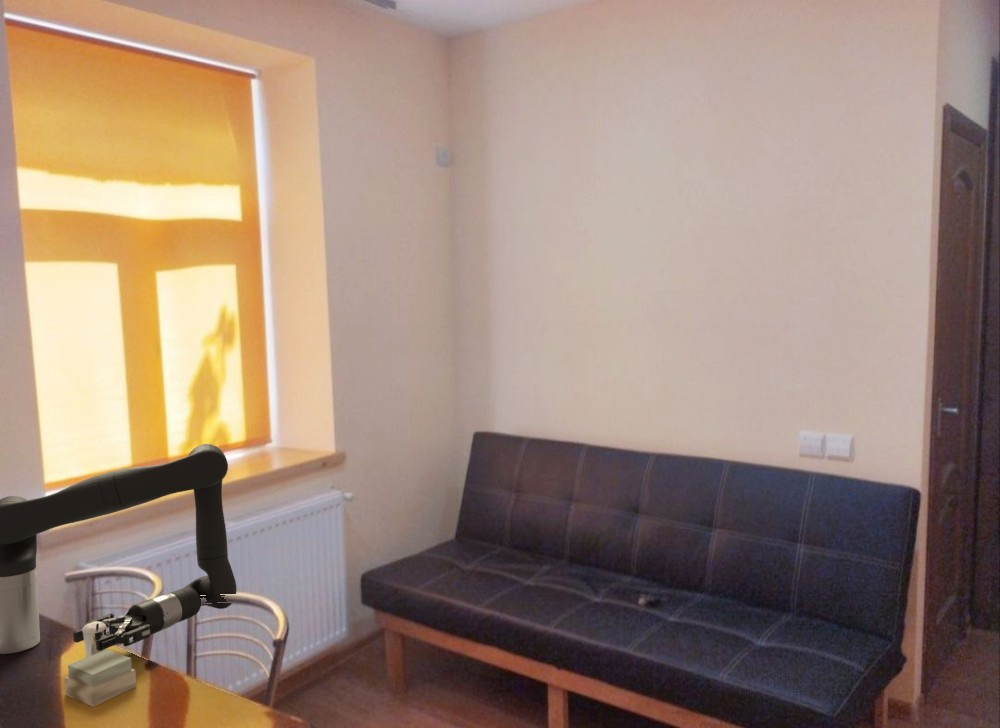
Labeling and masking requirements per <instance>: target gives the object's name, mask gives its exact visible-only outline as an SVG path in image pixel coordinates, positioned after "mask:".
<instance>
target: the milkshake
mask: <svg viewBox="0 0 1000 728" xmlns="http://www.w3.org/2000/svg"><path fill="white" fill-rule="evenodd" d="M106 631H107V628H106V625H105V624H104V623H103V622H99V621H95V622H91V623H89V624H88V623H86V624H85V625H84V626H83V627H82V633H83V639H84V640H83V645H84V652H85V653H84V654H85V658H86V657H89V656H91V655H94V654H96V653H99V652H101V651H104V650H106V649H104V650H101V651H98V650H96V641H97V640H99V639H101V638H104V637H106Z"/></svg>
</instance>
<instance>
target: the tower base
mask: <svg viewBox="0 0 1000 728" xmlns="http://www.w3.org/2000/svg"><path fill="white" fill-rule="evenodd" d="M67 668H68V675H67V676H65V677H64V689H65V691H64V693H65V696H67V697H69V698H71V699H74V700H77V701H78V702H81V703H83V704H86V705H88V706H90V707H92V708H93V707H96V706H98V705H101V704H103V703H104V702H107V701H108V700H111V699H113V698H115V697H117V696H120V695H122V694H124V693H126V692H129V691H130V690H133V689H135V688H137V675H136V674H137V673H136V669H135V668H132V658H131V657H130V656H126V655H124V654H121V653H118V652H115V651H112V650H110V649H108V648H106V649H105V650H104V651H101V652H99V653H96V654H94V655H91V656H89V657H86V656H85V657H84V658H82V659H79V660H76V661H75V662H72V663H68V664H67Z"/></svg>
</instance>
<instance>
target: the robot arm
mask: <svg viewBox="0 0 1000 728" xmlns="http://www.w3.org/2000/svg"><path fill="white" fill-rule="evenodd" d="M228 470H229V463H228V459H227V457H226V455H225V453H224V452H223V451H222V449H221V448H220V447H218V446H217V445H214V444H211V443H203V444H200V445H198V446H196V447H194V448H193V449H192V450H191V451H190V452H189V453H188V455H187V456H184V457H182V458H179V459H176V460H173V461H169V462H166V463H162V464H157V465H147V466H136V467H135V466H134V467H126V468H121V469H116V470H112V471H109V472H108V471H107V472H105V473H101V474H98V475H94V476H91V477H88V478H86V479H84V480H82V481H79V482H77V483H75V484H72V485H70V486H68V487H66V488H64V489H61V490H58V491H57V492H55V493H51V494H48V495H45V496H41V497H37V498H32V499H29V500H28V499H27V498H24V497H22V496H17V495H9V496H5V497H2V498H0V655H7V654H16V653H20V652H23V651H27V650H29V649H31V648H34V647H36V646H37V645H38V644H39V643H40V642H41V633H40V632H41V631H40V615H39V614H40V611H39V595H38V594H39V593H38V591H39V590H38V579H37V578H38V575H37V554H38V543H37V542H38V541H37V540H38V539H37V538H38V537H37V535H39V534H40V533H43V532H46V531H49V530H51V529H56V528H58V527H61V526H65V525H68V524H73V523H74V524H75V523H78V522H83V521H87V520H91V519H95V518H98V517H102V516H103V517H104V516H107V515H110V514H114V513H117V512H121V511H124V510H128V509H130V508H133V507H136V506H140V505H143V504H146V503H149V502H152V501H155V500H157V499H160V498H162V497H166V496H169V495H173V494H177V493H183V492H188V491H192V490H193V494H194V497H193V498H194V504H195V505H194V507H195V543H196V544H195V545H196V560H197V562H196V563H197V567H199V569H201V570H202V571H203V572H205V573H206V575H204V576H200V577H198V578H196V579H194V580H193V581H191V582H189V583H188V584H186V585H185V586H184V587H183V588H180V589H177V590H175V591H172V592H168V593H166V594H161V595H157V596H155V597H152V598H148V599H147V600H144V601H141V602H138V603H135V604H133V605H131V606H130V607H129V609H128V611H127V612H126V614H125V615H124V614H123V615H118V616H116V617H115V614H114V613H113V612H112V613H108V614H106V615H102V616H100V617H97V618H94V619H92V620H88V621H87V624H89V623H91V622H95V621H99V622H103V623H104V624H105V625H106V629H108V631H107V630H106V637H104V638H101V639H99V640H97V641H96V650H98V651H101V650H104V649H105V650H106V649H108V648H112V647H114V646H121V645H122V646H123V647H129V646H131V645H134V644H137V643H139V642H141V641H143V640H145V639H148V638H150V636H152V635H154V634H156V633H159V632H162V631H164V630H166V629H168V628H171V627H173V626H174V625H176V624H178V623H181V622H183V621H185V620H188V619H190V618H192V617H194V616H196V615H197V614H198V613H199V612H200V610H201V608H202V606H203V607H204V606H206V607H211V608H213V609H220V610H221V609H222V610H224V609H226V608H228V607H230V606H231V605H233V603H217V602H227V601H226V599H224V597H221V596H225V595H220V594H236V595H237V590H238V589H237V583H236V579H235V575H234V572H233V569H232V565H231V564H230V561H229V556H228V555H229V554H228V553H229V552H228V550H229V549H228V539H227V538H228V537H227V528H226V527H227V526H226V521H225V516H224V508H223V494H222V493H223V492H222V491H223V479H224V478H225V477H226V476H227V474H228ZM200 595H206V596H200ZM203 597H204V598H206V600H207V602H205V603H212V604H202V605H201V599H200V598H203ZM82 629H83V628H82ZM82 629H79V630H77V631H74V632H73V635H72V636H73V638H72V639H73V642H74V643H80V642H84V639H83V633H82ZM130 638H132V639H130Z"/></svg>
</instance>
